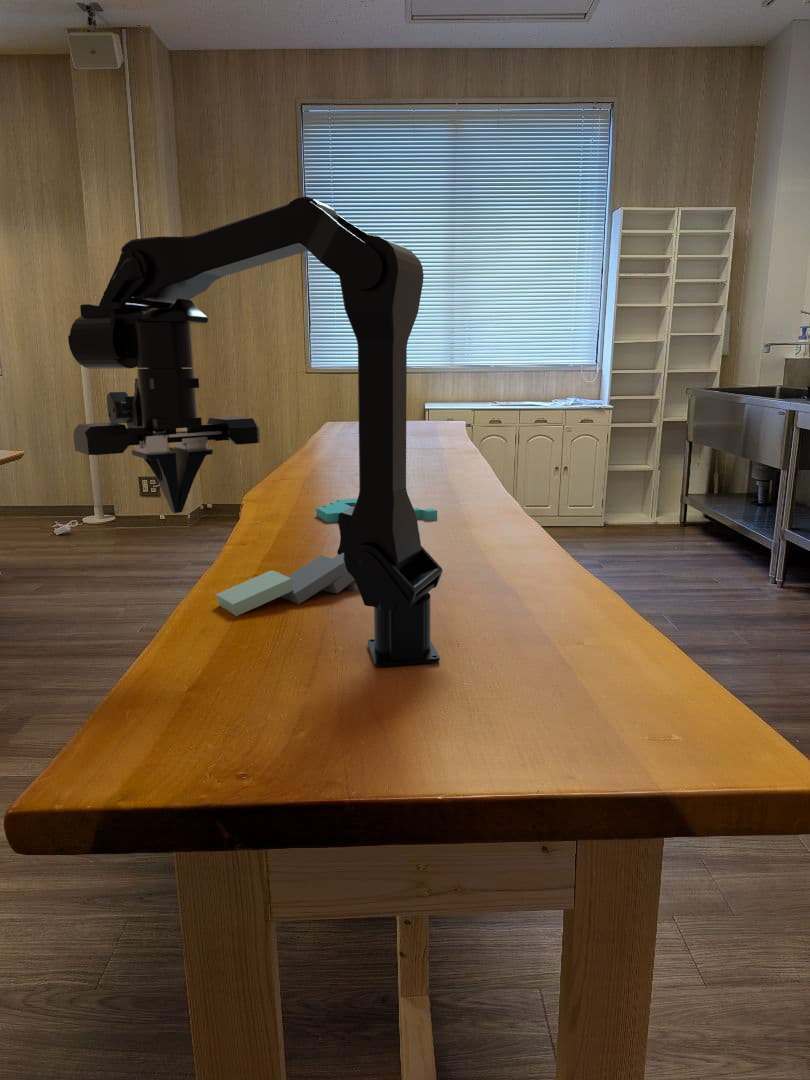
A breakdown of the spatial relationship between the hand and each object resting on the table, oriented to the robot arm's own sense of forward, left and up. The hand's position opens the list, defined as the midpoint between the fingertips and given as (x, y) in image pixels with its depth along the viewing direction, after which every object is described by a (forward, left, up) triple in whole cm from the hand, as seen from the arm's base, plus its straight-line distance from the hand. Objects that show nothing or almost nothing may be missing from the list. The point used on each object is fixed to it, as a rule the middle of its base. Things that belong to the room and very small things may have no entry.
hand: (176, 512), depth 81 cm
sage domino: (+3, -4, -12) cm, 14 cm away
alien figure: (+59, -29, -14) cm, 67 cm away
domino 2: (+9, -16, -12) cm, 22 cm away
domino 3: (+10, -19, -13) cm, 25 cm away
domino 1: (+6, -12, -12) cm, 18 cm away
